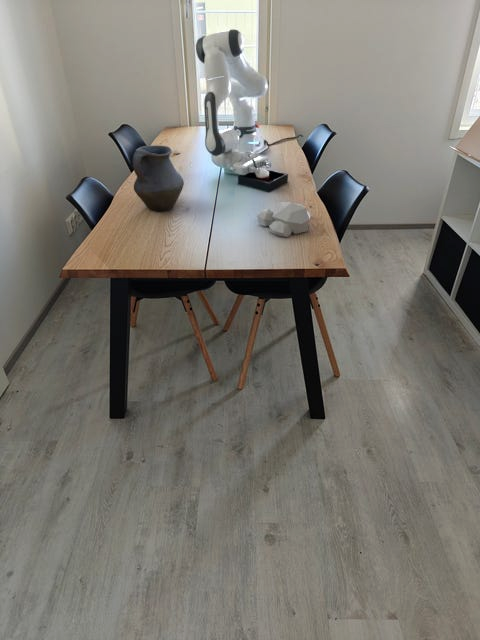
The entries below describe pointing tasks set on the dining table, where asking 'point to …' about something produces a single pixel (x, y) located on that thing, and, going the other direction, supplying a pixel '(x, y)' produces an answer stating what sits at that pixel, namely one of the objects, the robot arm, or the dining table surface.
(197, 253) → the dining table surface
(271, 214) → the rock
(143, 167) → the pitcher
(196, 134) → the dining table surface
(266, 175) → the cocoa
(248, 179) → the tray
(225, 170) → the pale cyan corner bracket
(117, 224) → the dining table surface
